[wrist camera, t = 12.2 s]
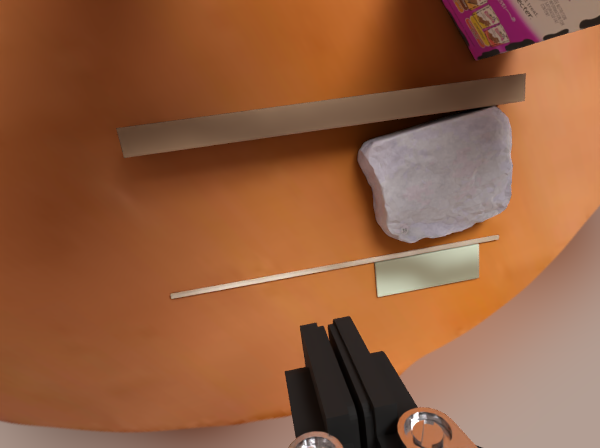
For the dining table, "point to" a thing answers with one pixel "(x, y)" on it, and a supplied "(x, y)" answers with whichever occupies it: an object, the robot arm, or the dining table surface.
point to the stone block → (440, 174)
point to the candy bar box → (518, 22)
